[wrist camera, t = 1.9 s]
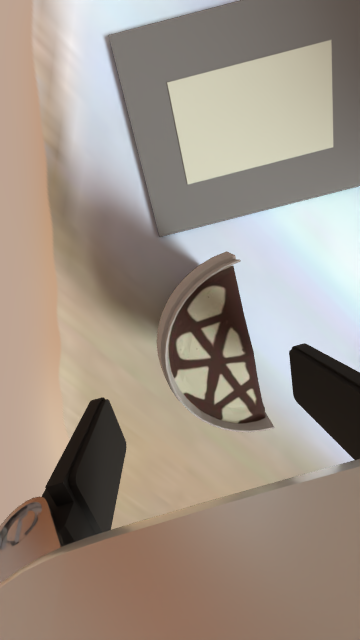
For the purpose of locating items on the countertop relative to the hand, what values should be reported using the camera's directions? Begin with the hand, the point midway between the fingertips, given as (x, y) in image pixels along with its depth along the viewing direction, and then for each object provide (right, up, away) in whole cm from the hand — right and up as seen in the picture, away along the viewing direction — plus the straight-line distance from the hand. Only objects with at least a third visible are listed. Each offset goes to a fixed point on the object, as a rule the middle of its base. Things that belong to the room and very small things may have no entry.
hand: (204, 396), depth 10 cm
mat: (+5, +21, +7) cm, 22 cm away
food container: (0, +4, +12) cm, 12 cm away
